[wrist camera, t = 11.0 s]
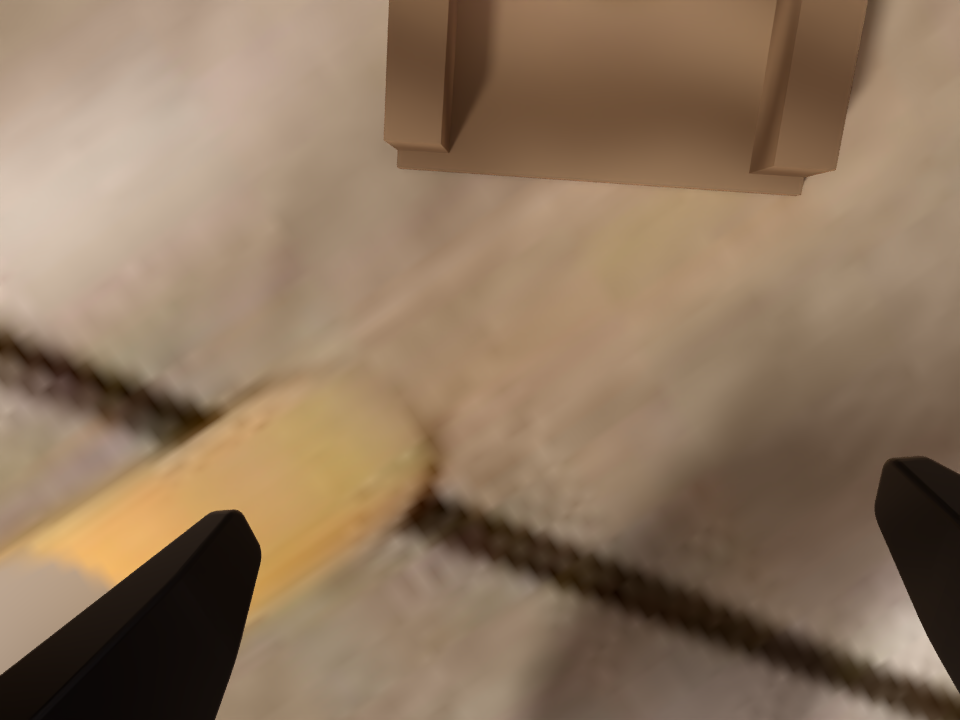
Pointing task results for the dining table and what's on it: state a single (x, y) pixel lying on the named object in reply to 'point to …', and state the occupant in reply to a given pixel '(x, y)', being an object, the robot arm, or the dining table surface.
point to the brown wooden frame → (623, 89)
